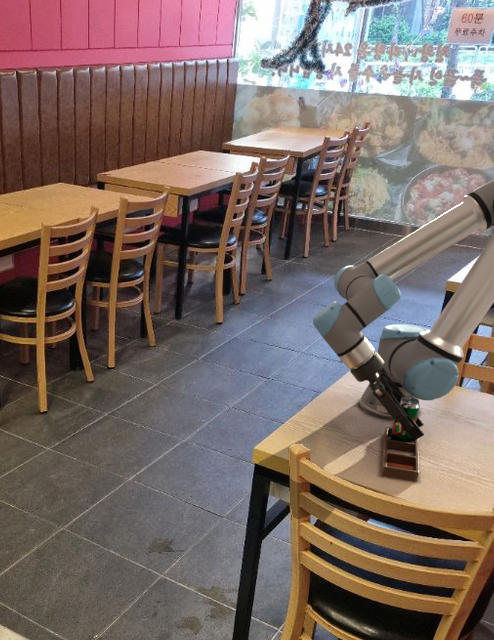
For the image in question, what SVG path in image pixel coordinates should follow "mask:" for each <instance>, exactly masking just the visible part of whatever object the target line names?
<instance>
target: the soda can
mask: <svg viewBox="0 0 494 640" xmlns="http://www.w3.org/2000/svg"><path fill="white" fill-rule="evenodd" d="M399 404H400V405H401V406H402V408H403V409H404V411H405V412H406V413H407V414H409V415H410V417H411V418H412V419H413V420H414V422H415V423H416V420H417V416H418V417H419V412H420V409H421V405H420V399H419V400H417V399H415V398H412V397H403V398H401V399H400V401H399ZM394 421H395V420H393V423H392V426H391V428H392V431H391V436H390V437H389V439H390V440H396V441H403V442H409V443H412V442H413V441H412V438H411V436H410V435H409V434H408V433H407V431H406V430H405V429H404V428H403V426H402V425H401V424H400V422H397V423H395V422H394Z"/></svg>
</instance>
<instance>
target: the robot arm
mask: <svg viewBox="0 0 494 640" xmlns="http://www.w3.org/2000/svg"><path fill="white" fill-rule="evenodd" d="M462 197H463V198H462V199H461V202H460V203H459V204H457V205H456V206H454V207H452V208H451V209H449V210H447V211H446V212H444V213H443V214H441V215H440V216H437V218H435V219H432V220H431V221H429V222H428V223H426V224H424V225H423V226H421V227H420V228H418V229H416V230H415V231H413V232H412V233H409V234H407V235H406V236H405V237H403V238H401V239H400V240H398V241H396V242H395V243H394V244H391V245H390V246H388V247H386V248H385V249H383V250H381V251H380V252H379V253H377V254H375V255H374V256H372V257H370V258H368V259H367V260H365V261H364V262H362V263H360V264H359V265H357V266H356V265H346V266H343V267H341V269H339V270H338V271H337V272H336V274H335V277H334V282H333V283H334V289H335V290H336V291H337V293H338V295H339V296H340V297H341V298H343V299H344V300H346V302H344V303H343V304H341V303H339V302H338V301H333V302H330V303H328V305H326V306H324V307H323V308H322V309H320V310H319V311H318V312H317V313H316V314H315V315H314V317H313V318H312V319H313V320H312V324H313V326H314V328H315V329H316V330H317V332H318V333H319V334H320V336H321V337H322V339H323V340H324V341H325V342H326V343H327V345H328V346H329V347H330V348H331V349H332V351H333V352H334V353H335V354H336V356H337V357H338V358H339V360H338V361H339V363H343V364H344V366H345V367H346V368H347V369H348V370H349V373H350V374H351V375H352V376H353V377H354V378H355V380H356V381H357V382H358V383H363V382H365V381H366V382H367V381H368V385H367V386H366V388H365V390H364V391H363V393H362V395H361V397H360V401H359V406H360V408H361V409H362V410H363V411H364V412H366V413H367V414H370V415H372V416H373V417H374V416H375V417H377V418H380V419H385V420H392V421H393V423H394V422H395V423H397V422H400V424H401V425H402V426H403V428H404V429H405V430H406V431H407V433H408V434H409V435H410V436H411V438H412V439H413V440H414V441H415V440H417V439H418V440H419V439H420V438H422V437H423V436H425V433H424V432H423V430H422V429H421V427H423V426H425V425H424V424H425V423H424V422H423V421H422V420H421V419H420V417H419V415H418V416H417V420H416V423H415V422H414V420H413V419H412V418H411V417H410V415H409V414H407V413H406V412H405V411H404V409H403V408H402V406H401V405H400V404H399V401H400V399H401V398H403V397H412V398H415V399H417V400H419V401H434V400H436V399H440V398H444V397H445V396H446V395H448V394H450V393H451V391H452V390H453V389H454V388H455V386H457V383H458V381H459V368H458V366H459V365H460V363H461V361H462V360H463V358H464V357H465V355H464V354H465V353H464V350H463V349H464V348H463V347H464V345H465V344H466V343H467V342H468V340H469V339H470V337H471V336H472V334H473V333H474V332H475V330H476V328H477V327H478V326H479V324H480V323H481V321H482V320H483V318H484V317H485V316H486V314H487V313H488V311H489V310H490V308H491V307H492V306H493V305H494V179H492V180H490V181H488V182H486V183H484V184H482V185H480V186H479V187H477V188H476V189H474V190H472V191H471V192H469V193H467V194H466V195H464V196H462ZM489 229H490V232H491V238H490V239H489V240H488V242H487V244H486V245H485V246H484V248H483V250H482V251H481V252H480V254H479V256H478V257H477V258H476V260H475V262H474V263H473V265H472V266H471V268H470V270H468V272H467V274H466V275H465V277H464V278H463V279H462V281H461V283H460V284H459V286H458V287H457V288H456V290H455V292H454V293H453V295H452V296H451V298H450V299H449V301H448V302H447V303H446V305H445V307H444V308H443V310H442V311H441V313H440V314H439V316H438V317H437V319H436V321H435V322H434V323H433V325H432V326H431V327H430V329H428V328H426V327H423V326H420V325H413V324H390V325H387V326H385V327H384V328H382V331H381V335H380V338H379V343H378V347H377V351H376V350H375V347H374V346H373V345H372V343H371V342H370V340H368V338H367V337H366V336H365V335H364V334H363V333H362V330H364V329H365V328H367V326H368V327H369V325H371V324H372V323H373V322H374V321H375V320H378V318H379V317H381V316H382V315H383V314H385V313H386V312H388V311H389V310H391V309H392V307H394V306H395V305H396V304H397V303H398V302H399V301H401V299H402V292H401V291H400V288H399V287H398V286H397V284H396V283H395V282H394V280H396V279H398V278H399V277H401V276H403V275H404V274H405V273H407V272H409V271H411V270H413V269H414V268H416V267H418V266H419V265H422V264H423V263H425V262H427V261H428V260H429V259H431V258H433V257H435V256H436V255H438V254H440V253H441V252H443V251H444V250H446V249H448V248H449V247H451V246H453V245H455V244H457V243H459V242H460V241H462V240H463V239H465V238H467V237H468V236H470V235H472V234H474V233H475V232H480V233H484V232H485V231H487V230H489ZM394 420H395V421H394Z"/></svg>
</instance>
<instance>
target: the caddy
mask: <svg viewBox="0 0 494 640" xmlns="http://www.w3.org/2000/svg"><path fill="white" fill-rule="evenodd" d="M391 431H392V426H391V427H390V426H385V428H384V432H383V441H382V443H383V444H382V458H381V459H382V460H381V477H385V478H386V477H387V478H391V479H398V480H403V481H410V482H414V483H415V482H418V477H419V474H420V464H419V463H420V461H419V458H420V457H419V438H418V439H417V440H415V441H414V440H413V439H412V441H411V443H409V442H403V441H396V440H390V436H391ZM388 450H389V451H388ZM390 450H391V451H396V452H403V453H409V454H413V455H408V454H407V455H406V454H401V453H396V452H390Z"/></svg>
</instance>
